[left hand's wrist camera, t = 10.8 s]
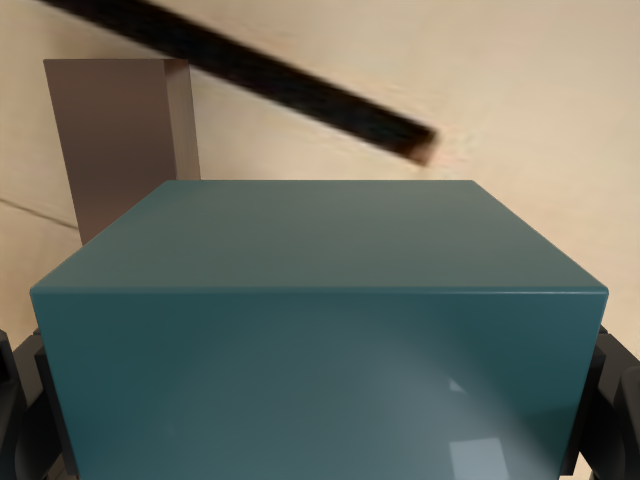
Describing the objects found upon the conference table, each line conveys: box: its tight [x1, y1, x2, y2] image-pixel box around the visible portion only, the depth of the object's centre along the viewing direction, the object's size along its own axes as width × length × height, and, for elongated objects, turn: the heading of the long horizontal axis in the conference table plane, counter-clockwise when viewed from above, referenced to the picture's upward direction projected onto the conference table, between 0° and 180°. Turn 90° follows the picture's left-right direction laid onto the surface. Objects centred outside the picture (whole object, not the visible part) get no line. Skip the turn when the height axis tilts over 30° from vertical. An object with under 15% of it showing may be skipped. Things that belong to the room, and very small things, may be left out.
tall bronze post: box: [43, 59, 201, 246], centre depth 30 cm, size 28×6×5 cm, turn 0°
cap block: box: [30, 180, 609, 480], centre depth 10 cm, size 6×8×6 cm
